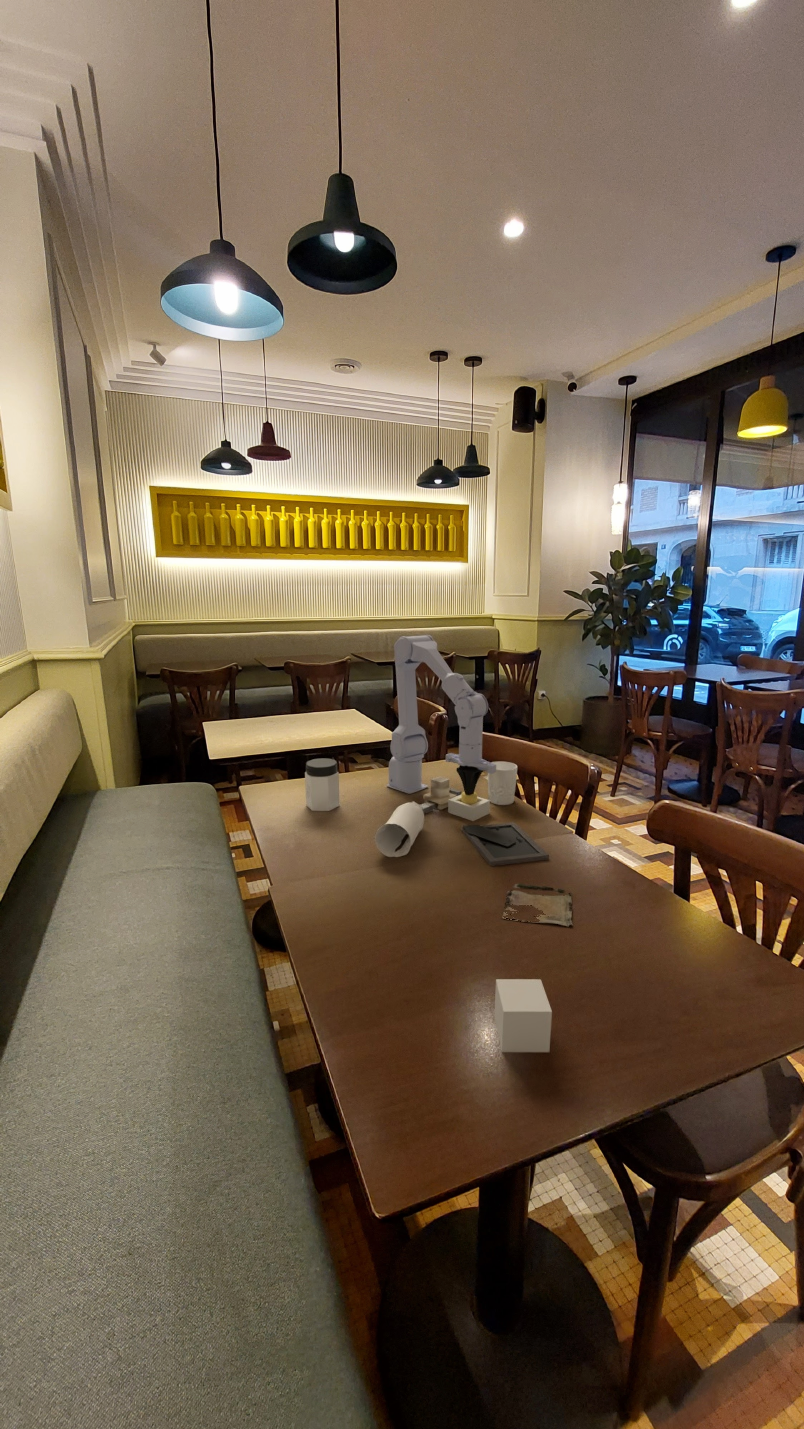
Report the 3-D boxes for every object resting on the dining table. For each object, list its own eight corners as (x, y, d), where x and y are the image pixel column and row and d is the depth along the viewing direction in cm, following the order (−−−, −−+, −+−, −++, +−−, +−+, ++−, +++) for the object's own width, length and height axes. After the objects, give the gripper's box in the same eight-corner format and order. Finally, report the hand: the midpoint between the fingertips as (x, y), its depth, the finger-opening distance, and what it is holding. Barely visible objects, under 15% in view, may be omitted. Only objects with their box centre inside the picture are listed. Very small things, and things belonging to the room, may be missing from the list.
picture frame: (462, 833, 138) (490, 868, 121) (462, 825, 137) (490, 859, 120) (514, 828, 141) (548, 861, 123) (514, 820, 140) (549, 853, 123)
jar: (302, 803, 155) (300, 760, 153) (331, 797, 159) (329, 756, 157) (313, 814, 148) (312, 769, 145) (343, 808, 151) (342, 764, 149)
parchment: (572, 893, 110) (572, 888, 110) (573, 931, 98) (574, 926, 98) (507, 884, 114) (507, 880, 113) (500, 920, 101) (500, 915, 101)
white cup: (480, 798, 159) (482, 763, 157) (504, 794, 162) (506, 759, 160) (497, 808, 152) (498, 771, 150) (521, 803, 155) (523, 767, 153)
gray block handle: (400, 816, 146) (400, 807, 145) (451, 796, 160) (451, 788, 159) (411, 820, 144) (411, 811, 143) (461, 799, 158) (461, 791, 157)
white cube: (501, 1053, 72) (503, 1011, 71) (494, 1018, 78) (495, 979, 77) (549, 1052, 72) (552, 1011, 71) (538, 1017, 78) (540, 979, 77)
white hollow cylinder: (431, 826, 140) (431, 795, 139) (410, 861, 123) (410, 826, 121) (399, 822, 143) (400, 792, 141) (374, 856, 125) (374, 821, 123)
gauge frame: (448, 812, 149) (448, 799, 148) (464, 805, 154) (465, 792, 153) (473, 821, 143) (473, 807, 143) (489, 813, 148) (490, 800, 147)
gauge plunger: (457, 808, 148) (458, 793, 147) (467, 804, 151) (467, 789, 150) (470, 812, 145) (470, 797, 145) (479, 808, 148) (480, 793, 147)
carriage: (423, 803, 154) (423, 779, 152) (437, 798, 158) (438, 774, 157) (441, 810, 150) (442, 784, 148) (456, 803, 154) (456, 779, 152)
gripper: (438, 740, 146) (437, 791, 149) (484, 751, 137) (483, 805, 140) (455, 735, 151) (454, 784, 154) (501, 745, 142) (499, 797, 144)
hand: (469, 793), depth 147 cm, fingers closed, pressing on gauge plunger
